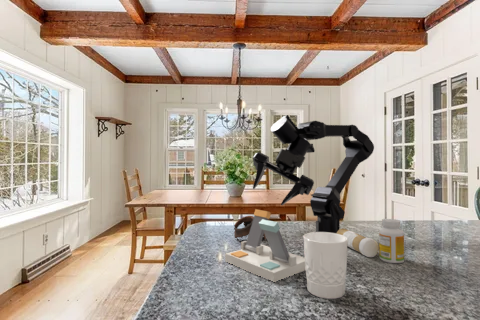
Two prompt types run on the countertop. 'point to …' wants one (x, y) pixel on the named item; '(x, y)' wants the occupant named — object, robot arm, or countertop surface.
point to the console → (265, 262)
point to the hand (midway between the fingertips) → (267, 196)
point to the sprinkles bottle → (360, 243)
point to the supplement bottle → (391, 241)
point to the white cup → (325, 264)
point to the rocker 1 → (256, 230)
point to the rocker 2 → (275, 240)
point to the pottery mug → (244, 231)
